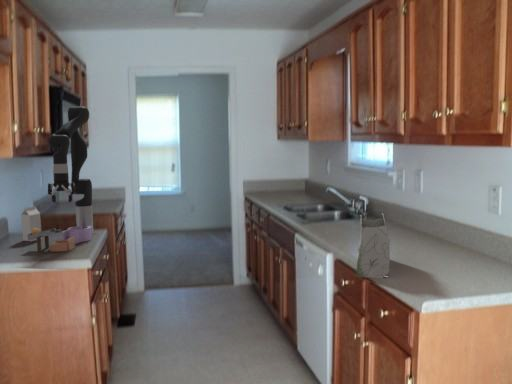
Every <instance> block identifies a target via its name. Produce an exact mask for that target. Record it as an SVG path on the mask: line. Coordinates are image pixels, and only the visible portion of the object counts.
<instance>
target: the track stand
mask: <svg viewBox="0 0 512 384" xmlns="http://www.w3.org/2000/svg"><path fill="white" fill-rule="evenodd" d="M49 239H50V238H49V236H45V237H44V246H45V249H50V243H49ZM36 247H37V248H36V249H37V250H36V251H37V253H41V252H42V239H41V237H37V240H36Z"/></svg>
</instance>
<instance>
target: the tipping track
mask: <svg viewBox="0 0 512 384" xmlns="http://www.w3.org/2000/svg"><path fill="white" fill-rule="evenodd" d="M62 231H63V230H62V228H59V229H56V227H53V228H50V229H46V230H41V231H40V233H36V234H32V233H30V234H28V236H27V237H28V240H32V239H37V237H42V238H45V236H48V237H49V236H53V235H54V234H56V233H59V232H62Z"/></svg>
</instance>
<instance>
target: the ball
mask: <svg viewBox="0 0 512 384" xmlns="http://www.w3.org/2000/svg"><path fill="white" fill-rule="evenodd" d="M31 233H32V234H36V233H40V231H39V229H37V228H34V229H33V230H32V232H31Z"/></svg>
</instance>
